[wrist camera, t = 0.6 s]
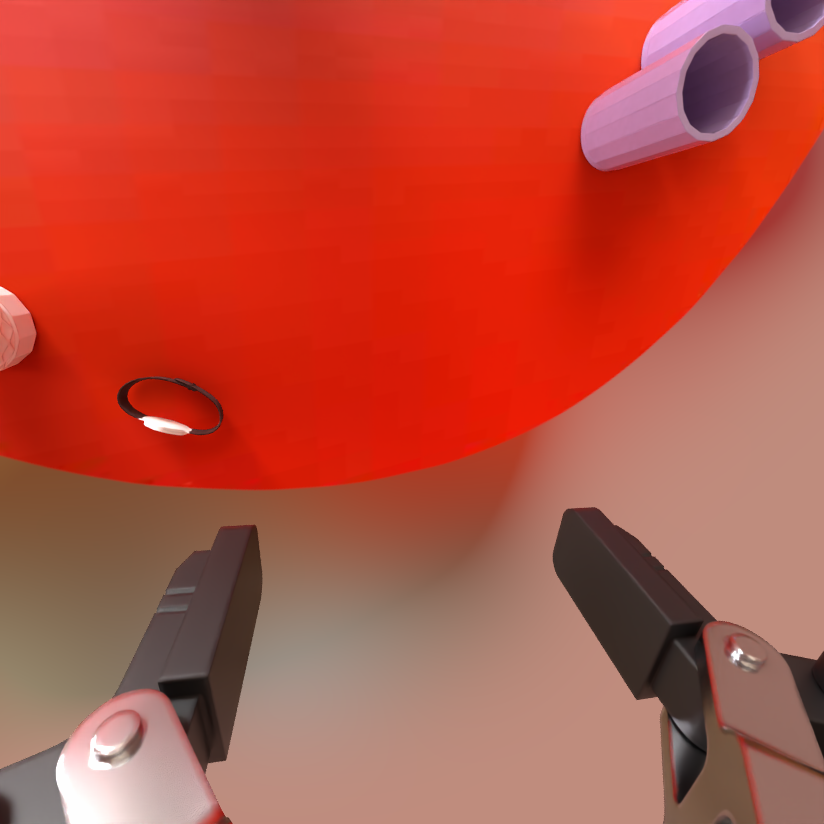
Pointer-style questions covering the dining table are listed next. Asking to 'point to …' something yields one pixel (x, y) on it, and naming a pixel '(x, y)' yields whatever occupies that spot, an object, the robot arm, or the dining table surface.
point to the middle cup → (735, 24)
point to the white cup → (14, 330)
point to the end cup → (674, 101)
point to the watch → (162, 423)
